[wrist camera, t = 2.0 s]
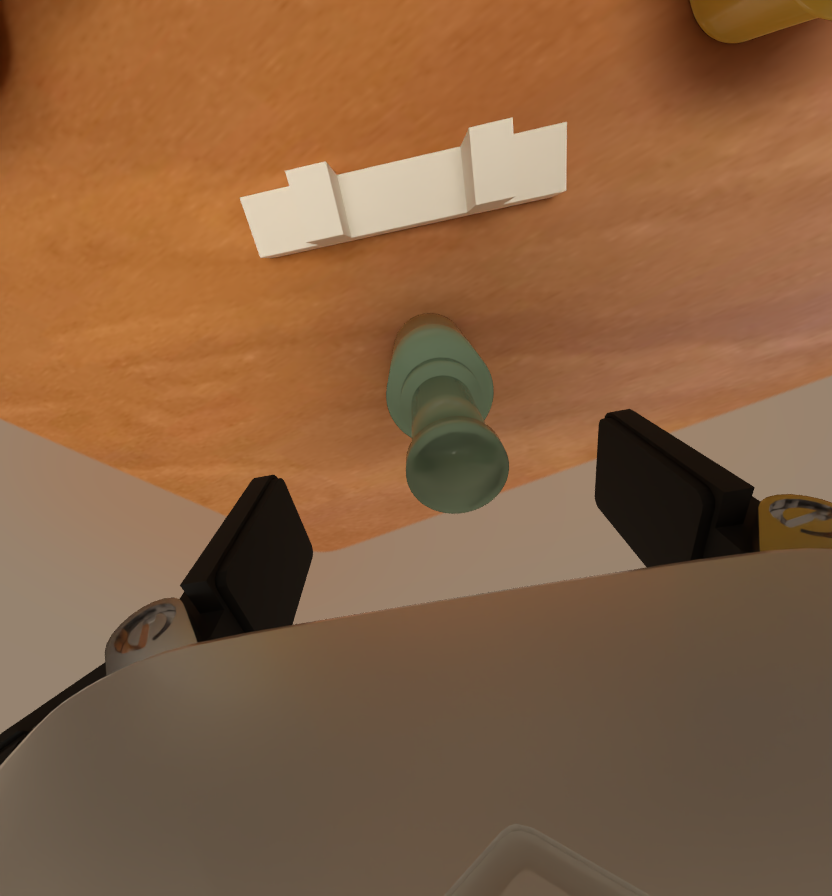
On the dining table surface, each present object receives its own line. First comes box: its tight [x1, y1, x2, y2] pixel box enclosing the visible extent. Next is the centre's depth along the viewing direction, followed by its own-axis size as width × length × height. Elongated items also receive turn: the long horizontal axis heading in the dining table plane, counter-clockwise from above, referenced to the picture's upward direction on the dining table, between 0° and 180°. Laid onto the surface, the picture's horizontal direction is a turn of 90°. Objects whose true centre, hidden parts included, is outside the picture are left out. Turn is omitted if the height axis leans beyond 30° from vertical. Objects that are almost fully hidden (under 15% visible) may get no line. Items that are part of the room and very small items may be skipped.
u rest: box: [240, 117, 567, 258], centre depth 20 cm, size 18×3×5 cm, turn 101°
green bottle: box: [386, 313, 509, 514], centre depth 19 cm, size 5×5×17 cm
